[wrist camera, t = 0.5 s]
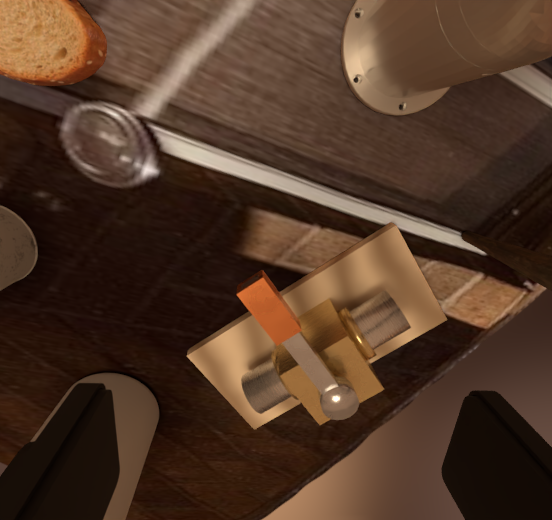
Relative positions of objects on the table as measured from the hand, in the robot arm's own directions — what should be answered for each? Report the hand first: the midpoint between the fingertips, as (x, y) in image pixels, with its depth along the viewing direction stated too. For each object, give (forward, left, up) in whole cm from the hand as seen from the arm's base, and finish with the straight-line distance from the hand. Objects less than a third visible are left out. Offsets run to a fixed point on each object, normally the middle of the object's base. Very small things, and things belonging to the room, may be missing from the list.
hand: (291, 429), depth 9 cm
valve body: (+3, +17, -30) cm, 35 cm away
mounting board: (+3, +17, -31) cm, 36 cm away
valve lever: (+3, +11, -20) cm, 23 cm away
